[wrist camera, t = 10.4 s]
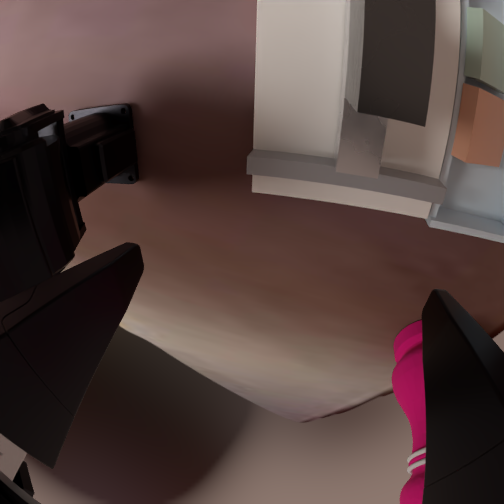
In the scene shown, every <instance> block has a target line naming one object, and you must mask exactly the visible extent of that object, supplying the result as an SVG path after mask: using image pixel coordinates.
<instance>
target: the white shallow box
mask: <svg viewBox="0 0 504 504" xmlns="http://www.w3.org/2000/svg"><path fill="white" fill-rule="evenodd" d="M345 9H346V0H257V30H256V65H255V100H254V135H253V150H252V151H251V152H250V154H249V155H248V156H247V174H250V175H252V192H256V193H264V194H273V195H281V196H289V197H297V198H304V199H311V200H318V201H325V202H332V203H339V204H345V205H351V206H358V207H364V208H370V209H376V210H381V211H387V212H393V213H398V214H404V215H409V216H414V217H419V218H424V219H427V218H428V215H429V212H430V208H431V205H432V203H435V204H440V205H442V204H443V201H444V198H445V194H446V191H447V188H446V187H445V186H444V185H443V183H442V182H441V181H440V180H439V175H440V171H441V167H442V163H443V159H444V154H445V149H446V145H447V140H448V135H449V129H450V124H451V118H452V112H453V105H454V98H455V91H456V83H457V73H458V62H459V48H460V0H436V26H435V48H434V61H433V72H432V82H431V90H430V98H429V105H428V112H427V119H426V125H425V127H423V126H419V125H415V124H411V123H407V122H403V121H398V120H394V119H389V118H388V122H387V129H386V135H385V142H384V148H383V153H382V159H381V165H380V170H379V175H378V179H376V178H370V177H364V176H359V175H352V174H346V173H340V172H336V169H335V159H334V150H335V142H336V133H337V124H338V114H339V104H340V93H341V81H342V68H343V53H344V35H345Z"/></svg>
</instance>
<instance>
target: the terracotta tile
mask: <svg viewBox="0 0 504 504" xmlns="http://www.w3.org/2000/svg"><path fill="white" fill-rule="evenodd" d="M503 149H504V100H502V99H501V98H499V97H497V96H495V95H493V94H491V93H489V92H487V91H485V90H483V89H481V88H478V87H475V86H472V85H468V84H465V83H463V89H462V96H461V103H460V110H459V116H458V122H457V128H456V133H455V138H454V143H453V148H452V152H451V155H452V156H454V157H456V158H458V159H460V160H461V161H463V162H465V163H472V164H480V165H487V166H494V167H499V166H500V162H501V158H502V154H503Z"/></svg>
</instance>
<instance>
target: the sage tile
mask: <svg viewBox="0 0 504 504" xmlns="http://www.w3.org/2000/svg"><path fill="white" fill-rule="evenodd" d="M464 75H465V76H467V77H469V78H471V79H474V80H476V81H478V82H480V83H482V84H484V85H486V86H488V87H490V88H491V89H493V90H495V91H497V92H499V93H502V94H504V25H503V24H502V23H501V22H500V21H498V20H497V19H496V18H495V17H493V16H492V15H491V14H490V13H488V12H487V11H486V10H484V9H483V8H473V7H467V42H466V58H465V70H464Z"/></svg>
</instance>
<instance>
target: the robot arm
mask: <svg viewBox="0 0 504 504" xmlns="http://www.w3.org/2000/svg"><path fill="white" fill-rule="evenodd" d="M124 108H125V109H126V113H125V112H124ZM74 116H75V118H74ZM63 118H64V111H63V110H60V111H54V110H51V109H50V110H49V109H48V108H47V107H46V105H45V104H40V105H37V106H34V107H31V108H28V109H25V110H23V111H20V112H18V113H15V114H13V115H11V116H9V117H7V118H5V119H3V120H1V121H0V504H41V503H39V502H38V501H36V500H35V499H34V498H33V495H34V490H33V487H32V483H31V479H30V476H29V472H28V468H27V464H26V462H25V461H23V460H24V458H25V456H26V454H27V453H28V454H29V455H31V456H32V457H34V458H35V459H37V460H38V461H40V462H42V463H43V464H45V465H46V466H48V467H50V468H51V469H53V468H54V466H55V464H56V461H57V459H58V456H59V453H60V450H61V448H62V446H63V443H64V441H65V438H66V436H67V433H68V431H69V429H70V426H71V424H72V422H73V419H74V416H75V414H76V412H77V410H78V408H79V405H80V403H81V401H82V399H83V397H84V394H85V392H86V390H87V388H88V386H89V384H90V381H91V379H92V377H93V375H94V373H95V371H96V369H97V367H98V365H99V363H100V361H101V359H102V357H103V355H104V353H105V351H106V349H107V347H108V345H109V343H110V341H111V339H112V337H113V335H114V333H115V331H116V329H117V328H118V326H119V324H120V322H121V320H122V318H123V316H124V314H125V312H126V310H127V308H128V306H129V304H130V301H131V299H132V297H133V294H134V292H135V290H136V287H137V285H138V283H139V280H140V278H141V276H142V273H143V270H144V263H143V259H142V254H141V249H140V246H139V245H138V244H135V243H129V242H127V243H124V244H122V245H120V246H117V247H115V248H113V249H111V250H108V251H106V252H104V253H102V254H100V255H97V256H95V257H93V258H91V259H89V260H87V261H84V262H82V263H80V264H78V265H76V266H74V267H72V268H70V269H67V270H65V271H63V272H61V271H62V270H63V269H64V268H65V267H66V266H67V265H68V264H69V263H70V262H71V261H72V260H73V258H74V256H75V253H74V251H75V249H76V247H77V245H78V244H79V242H80V240H81V238H82V236H83V235H84V233H85V231H86V226H85V223H84V222H83V220H82V216H81V212H80V208H79V204H78V202H79V201H81V200H82V199H83V198H85V197H86V196H88V195H89V194H90V193H92V192H93V191H95V190H96V189H97V188H99V187H100V186H102V185H103V184H105V183H119V184H134V183H135V182H137V181H138V179H139V175H138V167H137V153H136V144H135V133H134V130H133V119H132V108H131V106H130V105H129V104H118V105H109V106H102V107H94V108H88V109H81V110H75V111H72V112H70V114H69V122H68V123H66V124H64V123H63ZM131 176H133V178H134V179H132V178H131ZM60 272H61V273H60ZM422 360H423V373H424V387H425V407H426V459H425V478H424V487H425V488H424V489H423V499H422V504H504V352H503V351H502V350H501V349H500V348H499V346H498V345H497V344H496V343H495V342H494V341H493V340H492V338H491V337H490V336H489V335H488V334H487V333H486V332H485V331H484V329H483V328H482V327H481V326H480V325H479V324H478V323H477V322H476V321H475V320H474V319H473V318H472V317H471V315H470V314H469V313H468V312H467V311H466V310H465V309H464V308H463V307H462V306H461V305H460V304H459V303H458V302H457V301H456V300H455V299H454V298H453V297H452V296H451V295H450V294H449V293H448V292H447V291H446V290H441V289H434V290H433V291H432V292H431V294H430V296H429V298H428V300H427V302H426V304H425V306H424V308H423V311H422Z"/></svg>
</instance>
